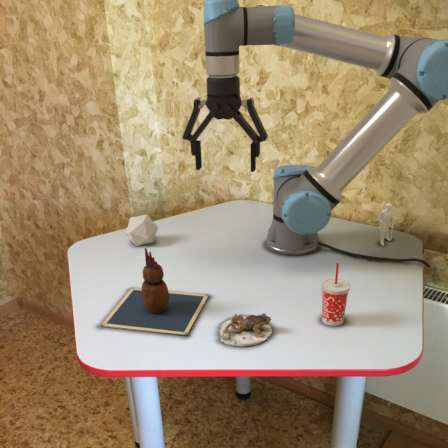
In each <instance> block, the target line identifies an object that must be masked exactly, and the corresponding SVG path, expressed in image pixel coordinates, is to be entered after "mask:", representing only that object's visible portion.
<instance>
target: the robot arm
mask: <svg viewBox="0 0 448 448" xmlns="http://www.w3.org/2000/svg"><path fill="white" fill-rule="evenodd" d="M203 35H204V36H203V37H204V54H205V74H206V75H207V78H206V99H203V98H201V97H197V98H195V99H194V100H193V108H192V111H191V114H190V117H189V119H188V121H187V124H186V127H185V128H184V131H183V134H182V139H183V140H186V141H188V142H189V143H190V154H191V156H194V157H195V158H194V159H195V171H199V170H201V169H202V168H203V162H202V161H203V159H202V143H201V142H202V141H201V140H198V139H199V137H200V136H201V135H202V134H203V132H204V131H205V129H206V128H207V127H208V126H209V124H210V123H211V122H212V120H213V119H216V120H223V119H224V120H227V121H228V120H231V119H233V120H234V121H235V122H236V123H237V124H238V125H239V126H240V128H241V129H242V130H243V131H244V133H245V134H246V135H247V136H248V137H249V138H250V140H251V141H252V142H251V143H250V144H249V145H250V147H249V148H250V173H254V172H255V171H256V169H257V158H259V157H260V155H261V143H262V142H266V140H267V139H268V138H269V135H268V133H267V131H266V129H265V127H264V125H263V122H262V120H261V118H260V116H259V113H258V112H257V109H256V108H255V107H256V106H255V99H254V98H253V97H250V98H247V99H242V97H241V83H240V82H241V79H240V77H239V76H238V75H239V74H240V71H241V70H240V47H246V46H278V47H282V48H285V49H289V50H293V51H297V52H301V53H305V54H309V55H314V56H316V57H317V56H318V57H321V58H325V59H328V60H332V61H335V62H336V61H337V62H339V63H345V64H349V65H352V66H356V67H360V68H364V69H369V70H372V71H374V72H375V74H376V75H377V77H382V78H384V79H385V78H386V79H388V80H390V82H389V83H390V84H389V89H388V90H387V91H386V92H385V94H384V95H382V97H381V98H380V99H379V100H377V102H376V103H375V104H374V105H373V107H372V108H371V109H370V110H369V111H367V113H366V114H365V115H364V116H363V117H362V118H361V119H360V120H359V121H358V122H357V123H356V124H355V126H354V127H353V128H352V129H351V130H350V131H349V132H348V133H347V134H346V136H344V138H343V139H341V140H340V142H339V143H338V144H337V145H336V146H335V147H334V148H333V149H332V150H331V151H330V152H329V154H328V155H327V156H326V157H325V158H324V159H323V160H322V161H321V162H320V163H319V164H318V165H317V166H316V167H315V166H313V165H308V164H307V165H306V164H287V165H280V166H277V167H275V169H274V171H273V177H272V180H273V197H272V198H273V203H272V221H271V224H270V227H269V228H268V230H267V235H266V239H265V244H266V246H265V247H266V248H267V249H268V250H270V251H272V252H274V253H276V254H279V255H285V256H302V255H308V254H311V253H314V252H316V251H317V250H318V249H319V247H324V248H327V249H330V250H332V251H334V252H338V253H341V254H344V255H348V256H351V257H356V258H360V259H366V260H367V259H368V260H374V261H375V260H376V261H386V262H394V263H395V262H396V263H405V262H407V263H408V262H416V263H421V264H423V265H425V266H426V267H427V268H431V265H430V264H429V263H428V262H427V261H426V260H424V259H421V258H416V257H412V258H391V257H383V256H382V257H380V256H374V255H373V256H372V255H365V254H360V253H356V252H351V251H347V250H343V249H340V248H337V247H334V246H331V245H329V244H326V243H323V242H321V241H320V237H319V232H321V231H322V230H324V229H325V228H326V226H327V225H328V224H329V222H330V220H331V217H332V212H333V210H334V209H335V208H336V207H337V205H339V204H340V203H341V201H342V193H343V191H344V190H345V188H347V187H348V185H349V184H350V183H351V182H352V181H354V179H355V178H356V177H357V176H358V175H359V174H360V173H361V172H362V171H363V170H364V169H365V168H366V167H367V166H368V165H369V164H370V163H371V162H372V161H373V160H374V159H375V157H377V156H378V155H379V153H381V152H382V150H384V148H385V147H387V145H388V144H389V143H390V142H391V141H392V140H393V139H395V137H396V136H397V135H398V134H399V133H400V132H401V131H402V130H403V129H404V128H405V127H406V126H407V124H409V123H410V122H411V120H413V118H414V117H416V116H418V115H421V114H422V115H423V114H428V112H430V110H432V109H433V107H435V106H436V104H437V103H438V102H439V101H445V100H447V99H448V39H445V38H444V39H443V38H442V39H437V38H433V37H417V36H415V37H414V36H404V35H398V34H394V33H389V34H387V35H386V36H383V35H379V34H376V33H371V32H368V31H363V30H360V29H357V28H351V27H348V26H345V25H340V24H336V23H333V22H329V21H325V20H321V19H317V18H313V17H310V16H305V15H300V14H297V13H295V8H294V7H292V6H291V5H281V4H278V5H264V4H257V5H255V6H240V3H239V0H205V1H204V2H203ZM204 106H205V107H206V108H207V109H208V111H209V112H208V114H207V115H206V116H205V118H204V119H203V120H202V122H201V124H200V125H199V126H198V128H196V130H195V131H194V133H193V130H194V128H195V125H196V122H197V119H198V118H199V115H200V113H201V110H203V108H204ZM242 106H243V107H244V109H245V110H247V112H248V114H249V117H250V119H251V121H252V123H253V126H254V127H255V129H256V131H257V132H256V131H255V129H254V128H253V127H252V126H251V124H250V123H249V122H248V121H247V120H246V118H245V117H244V115H243V114H242V112H241V111H240V109H241V107H242ZM192 133H193V134H192Z"/></svg>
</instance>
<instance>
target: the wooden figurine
mask: <svg viewBox="0 0 448 448" xmlns="http://www.w3.org/2000/svg"><path fill="white" fill-rule="evenodd" d="M144 255H145V256H144V258H145V266H144V267H143V268H142V278H143V282H142V284H141V289H142V298H143V301H144V304H145V307H146V309H147V310H148V311H150V312H151V313H161V312H163V311H164V310H165V309H166V308H167V306H168V303H169V293H168V291H169V288H168V285H167V283H166V281H165V280H164V279H163V278H164V269H163V267H162V265H160V264H158V261H157V260H156V259H155V256H154V257H153V255H152V252H151V251H148V249H147V248H146V247H144Z"/></svg>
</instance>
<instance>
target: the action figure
mask: <svg viewBox="0 0 448 448" xmlns="http://www.w3.org/2000/svg"><path fill="white" fill-rule="evenodd" d="M392 209H393V204H392V203H390V202H388V203H386V204H385V208H384V209H382V210H381V211H380V212H379V214H378V215H377V218H376V220H377V222H379V226H377V228H378V230H379V231H380V234H379V241H380V242H379V244H380V246H383V247H384V246H385V243H384V241H385V239H386V240H387V241H389V242H390V241H392V239H393V233H394V227H395V221H396V220H398V217H396V216H393V215H392ZM391 219H392V222H391ZM390 228H391V233H390V237H389V229H390Z"/></svg>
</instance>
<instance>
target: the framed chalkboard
mask: <svg viewBox="0 0 448 448" xmlns="http://www.w3.org/2000/svg"><path fill="white" fill-rule="evenodd" d="M168 293H169V303H168V306H167V308H166V309H165V310H164V311H163V312H161V313H151V312H150V311H148V310H147V309H146V307H145V304H144V301H143V298H142V288H138V287H130V289H129V290H128V291H127V293H126V294H125V295H124V296H123V298H122V299H121V300H120V302H118V304H116V306H115V307H114V308H113V310H112V311H111V312H110V313H109V314H108V316H107V317H106V318H105V320H104V321H103V322H102V323H101V324H100V327H101V328H109V329H116V330H117V329H120V330H128V331H136V332H146V333H154V334H163V335H171V336H181V337H188V335H189V333H190V331H191V330H192V328H193V327H194V324H195V322H196V320H197V318H198V317H199V314H200V313H201V311H202V310H203V307H204V306H205V304H206V302H207V300H208V299H209V297H210V295H209V294H202V293H193V292H182V291H181V292H179V291H170V290H168Z"/></svg>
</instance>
